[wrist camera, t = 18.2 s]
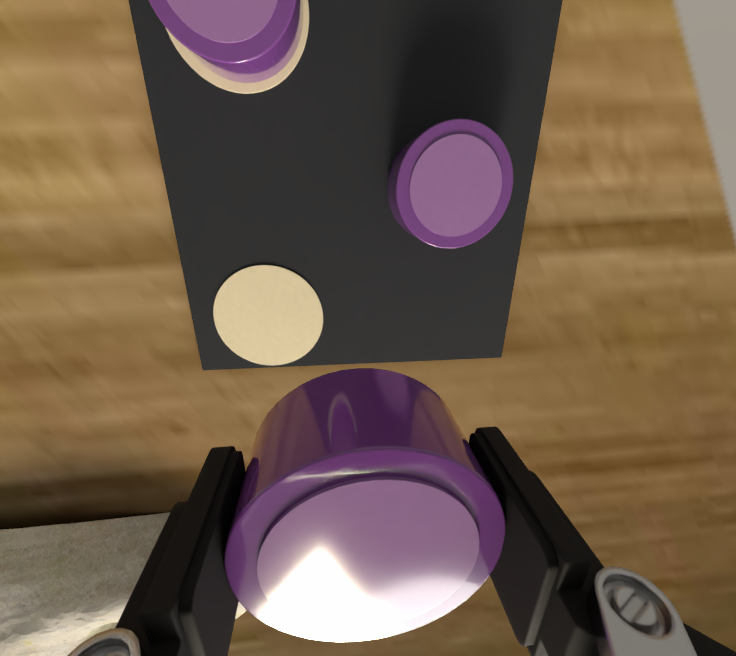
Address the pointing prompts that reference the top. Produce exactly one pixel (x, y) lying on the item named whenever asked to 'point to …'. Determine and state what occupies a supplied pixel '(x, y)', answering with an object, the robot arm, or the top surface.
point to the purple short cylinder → (236, 34)
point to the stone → (70, 581)
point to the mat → (344, 180)
